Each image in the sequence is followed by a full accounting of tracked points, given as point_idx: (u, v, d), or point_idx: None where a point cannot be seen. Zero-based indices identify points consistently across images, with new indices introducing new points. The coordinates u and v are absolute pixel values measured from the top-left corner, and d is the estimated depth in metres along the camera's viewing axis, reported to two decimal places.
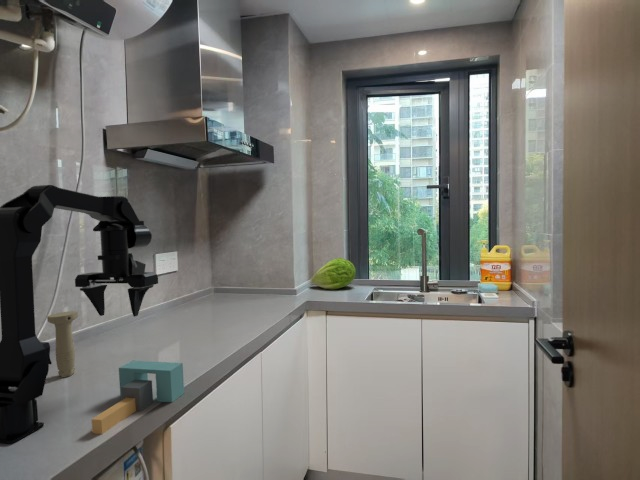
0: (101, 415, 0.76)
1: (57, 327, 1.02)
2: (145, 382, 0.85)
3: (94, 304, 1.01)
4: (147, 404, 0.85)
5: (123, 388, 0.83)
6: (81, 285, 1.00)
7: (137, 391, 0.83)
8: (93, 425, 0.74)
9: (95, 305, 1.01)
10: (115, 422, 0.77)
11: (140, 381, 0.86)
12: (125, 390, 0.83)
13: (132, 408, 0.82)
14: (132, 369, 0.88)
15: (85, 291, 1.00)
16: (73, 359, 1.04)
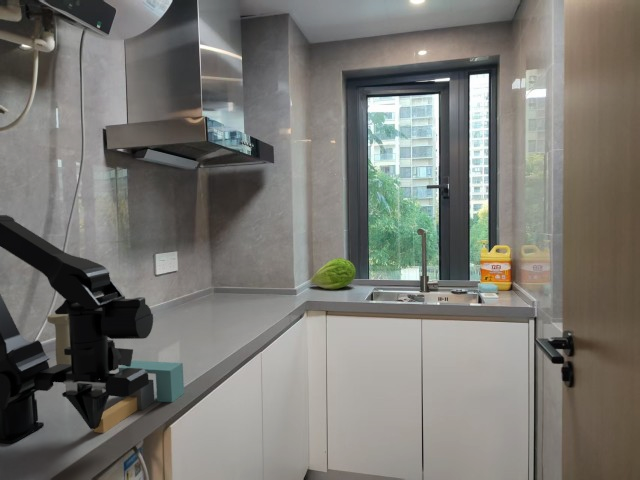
0: (103, 414, 0.76)
1: (56, 327, 1.02)
2: None
3: (82, 415, 0.72)
4: (148, 403, 0.85)
5: None
6: (42, 388, 0.72)
7: (139, 390, 0.83)
8: None
9: (84, 416, 0.72)
10: (116, 421, 0.78)
11: None
12: None
13: (133, 407, 0.82)
14: None
15: (69, 398, 0.71)
16: None
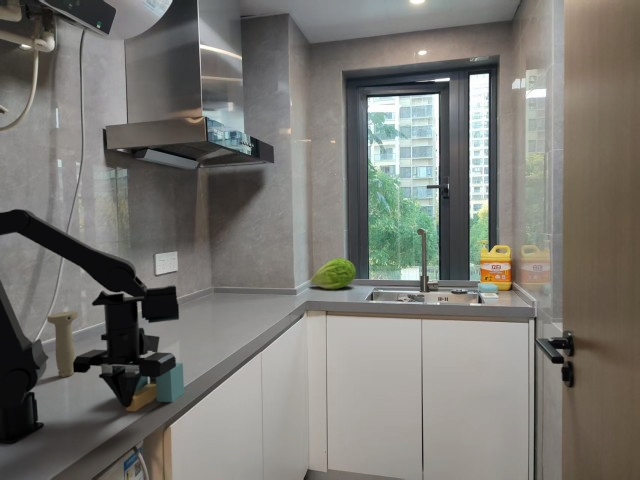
0: None
1: (56, 327, 1.02)
2: None
3: (117, 394, 0.80)
4: None
5: None
6: (81, 370, 0.80)
7: None
8: None
9: (118, 395, 0.80)
10: (145, 401, 0.86)
11: None
12: None
13: None
14: None
15: (105, 379, 0.79)
16: (73, 359, 1.04)
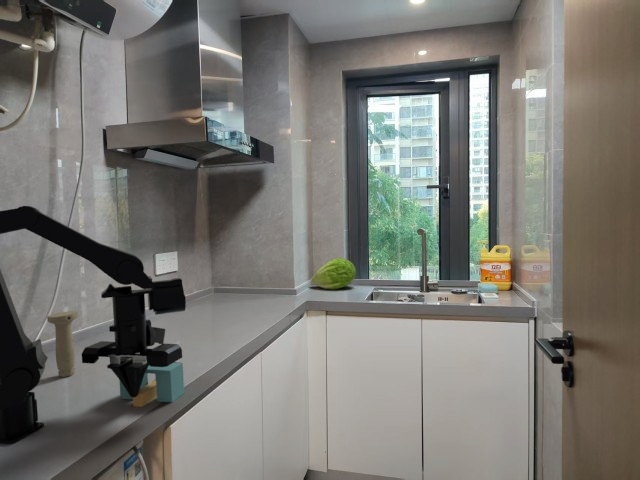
0: (140, 390, 0.86)
1: (56, 327, 1.02)
2: None
3: (124, 384, 0.82)
4: None
5: None
6: (89, 361, 0.82)
7: None
8: (134, 399, 0.85)
9: (126, 385, 0.82)
10: (152, 397, 0.88)
11: None
12: None
13: None
14: None
15: (114, 369, 0.81)
16: (73, 359, 1.04)
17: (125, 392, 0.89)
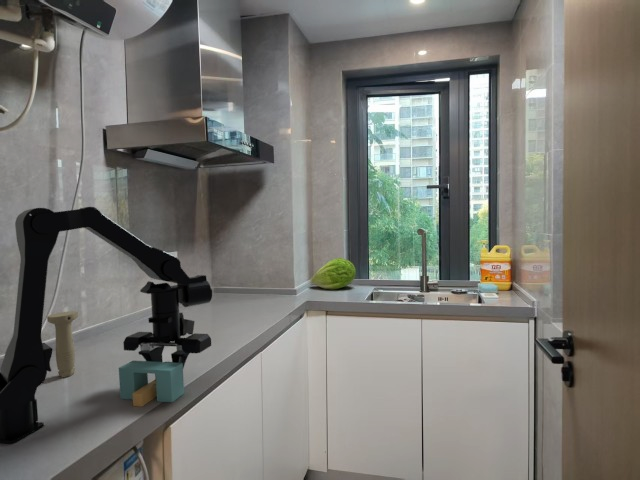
0: (140, 390, 0.86)
1: (57, 327, 1.02)
2: None
3: None
4: None
5: None
6: (130, 349, 0.94)
7: None
8: (134, 399, 0.85)
9: None
10: (152, 397, 0.88)
11: None
12: None
13: None
14: (132, 369, 0.88)
15: (144, 355, 0.94)
16: (73, 359, 1.04)
17: (125, 392, 0.89)
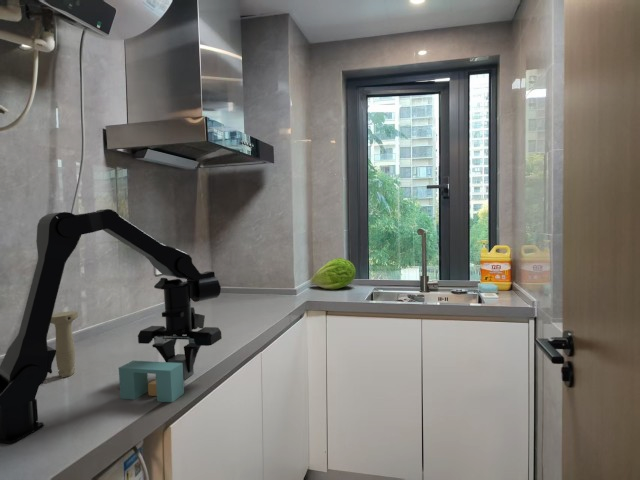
0: (155, 381, 0.91)
1: (57, 327, 1.02)
2: None
3: (166, 360, 0.99)
4: (189, 374, 1.00)
5: (169, 360, 0.98)
6: (145, 342, 0.99)
7: (182, 362, 0.98)
8: (149, 388, 0.90)
9: (167, 361, 0.99)
10: None
11: (183, 355, 1.01)
12: (171, 362, 0.98)
13: None
14: (132, 369, 0.88)
15: (158, 348, 0.98)
16: (73, 359, 1.04)
17: (125, 392, 0.89)
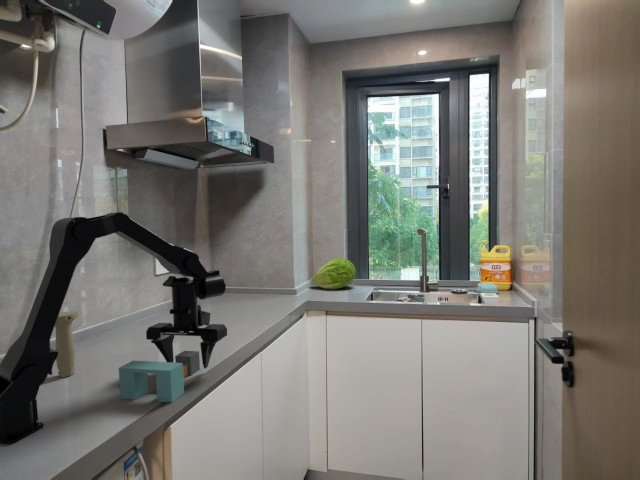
0: None
1: (57, 327, 1.02)
2: (194, 353, 1.03)
3: (165, 356, 1.03)
4: (196, 370, 1.03)
5: (177, 357, 1.01)
6: (153, 338, 1.02)
7: (189, 358, 1.01)
8: None
9: (166, 357, 1.03)
10: None
11: (189, 352, 1.04)
12: (178, 358, 1.01)
13: (185, 372, 1.00)
14: (132, 369, 0.88)
15: (156, 344, 1.02)
16: (73, 359, 1.04)
17: (125, 392, 0.89)
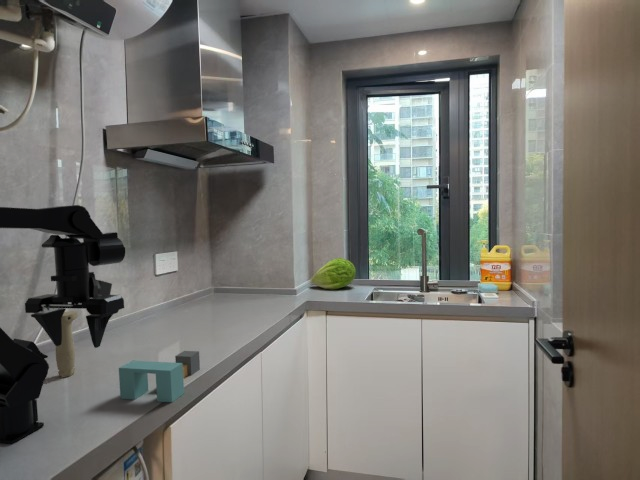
0: None
1: None
2: (194, 353, 1.03)
3: (48, 333, 0.85)
4: (196, 370, 1.03)
5: (177, 357, 1.01)
6: (32, 311, 0.84)
7: (189, 358, 1.01)
8: None
9: (49, 334, 0.85)
10: None
11: (189, 352, 1.04)
12: (178, 358, 1.01)
13: (185, 373, 1.00)
14: (132, 369, 0.88)
15: (37, 318, 0.84)
16: (73, 359, 1.04)
17: (125, 392, 0.89)
